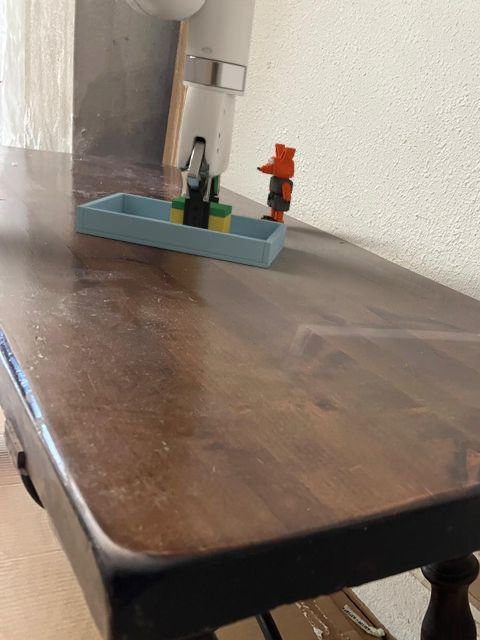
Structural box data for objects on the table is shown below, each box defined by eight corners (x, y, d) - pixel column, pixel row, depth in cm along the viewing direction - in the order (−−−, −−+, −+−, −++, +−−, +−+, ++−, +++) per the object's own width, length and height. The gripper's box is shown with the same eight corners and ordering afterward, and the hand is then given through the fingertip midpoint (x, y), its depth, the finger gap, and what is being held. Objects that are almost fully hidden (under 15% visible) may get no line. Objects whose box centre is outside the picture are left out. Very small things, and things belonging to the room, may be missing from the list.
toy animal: (243, 217, 120) (253, 138, 115) (274, 220, 122) (285, 144, 117) (258, 228, 113) (269, 145, 109) (291, 231, 116) (303, 150, 111)
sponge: (169, 231, 96) (171, 200, 95) (177, 226, 101) (180, 196, 99) (222, 241, 96) (225, 210, 95) (228, 236, 101) (232, 205, 99)
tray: (75, 232, 90) (76, 205, 89) (118, 215, 104) (120, 192, 103) (267, 268, 90) (271, 242, 88) (284, 246, 104) (287, 224, 103)
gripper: (200, 75, 99) (187, 214, 106) (166, 69, 83) (153, 233, 90) (256, 85, 99) (239, 224, 106) (232, 81, 83) (213, 244, 90)
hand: (199, 227), depth 98 cm, fingers closed on sponge, 4 cm apart
